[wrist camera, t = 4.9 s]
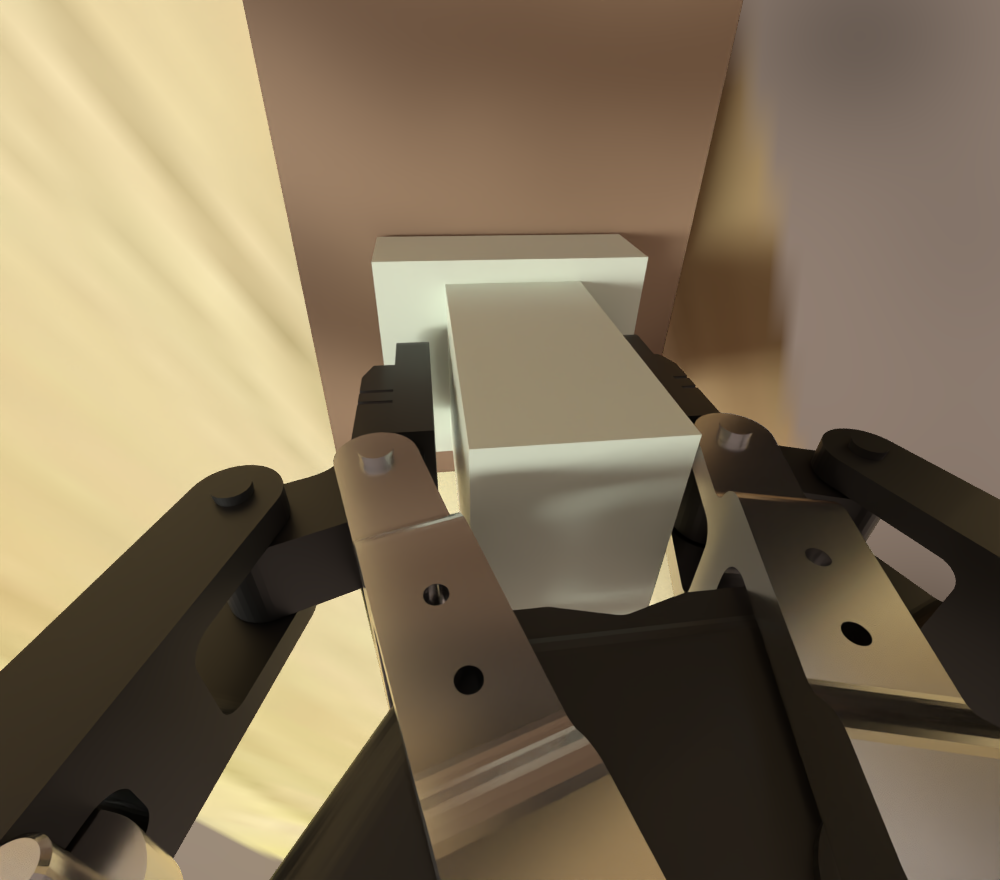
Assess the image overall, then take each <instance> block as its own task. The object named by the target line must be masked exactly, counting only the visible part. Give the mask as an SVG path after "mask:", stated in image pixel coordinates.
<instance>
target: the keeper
mask: <svg viewBox="0 0 1000 880" xmlns="http://www.w3.org/2000/svg"><path fill="white" fill-rule="evenodd" d="M647 261H648V256H646V255H645V254H644V253H642V252H641V251H640V250H639V249H637V248H636V247H635V246H634V245H632V244H631V243H630V242H628V241H627V240H626V239H625V238H623V237H622V236H621V235H620V234H584V235H498V236H413V237H377V239H376V244H375V248H374V253H373V257H372V262H371V263H372V271H373V279H374V287H375V295H376V303H377V312H378V320H379V328H380V336H381V344H382V352H383V360H384V365H395V356H396V343H409V342H429V347H430V363H431V378H432V394H433V410H434V426H435V444H436V452H440V451H453V456H454V466H455V476H456V486H457V496H458V505H459V513H461V514H462V515H463V516H464V517H465V519H466V520H467V522H468V524H469V526H470V528H471V530H472V532H473V534H474V536H475V538H476V540H477V542H478V544H479V546H480V547H481V549H482V551H483V553H484V555H485V557H486V559H487V561H488V563H489V565H490V567H491V569H492V571H493V573H494V575H495V577H496V579H497V581H498V583H499V585H500V586H501V588H502V590H503V592H504V594H505V596H506V598H507V600H508V602H509V604H510V606H511V608H512V610H520V609H530V608H539V607H556V608H564V609H572V610H581V611H589V612H597V613H606V614H614V615H626V614H630V613H632V612H635V611H638V610H640V609H643V608H646V607H648V606H649V604H650V600H651V597H652V594H653V591H654V587H655V584H656V581H657V578H658V575H659V571H660V568H661V565H662V562H663V558H664V555H665V552H666V549H667V545H668V542H669V539H670V536H671V533H672V529H673V526H674V523H675V520H676V516H677V513H678V510H679V507H680V504H681V500H682V497H683V494H684V491H685V487H686V484H687V481H688V478H689V475H690V471H691V468H692V465H693V462H694V458H695V455H696V452H697V449H698V446H699V442H700V439H701V436H702V434H701V433H700V432H699V430H698V429H697V428H696V427H695V425H694V424H693V423H692V422H691V420H690V419H689V418H688V417H687V415H686V414H685V413H684V412H683V410H682V409H681V408H680V407H679V405H678V404H677V403H676V401H675V400H674V399H673V398H672V396H671V395H670V394H669V393H668V391H667V390H666V389H665V388H664V386H663V385H662V384H661V383H660V381H659V380H658V379H657V378H656V376H655V375H654V374H653V373H652V371H651V370H650V369H649V367H648V366H647V365H646V364H645V362H644V361H643V360H642V359H641V357H640V356H639V355H638V354H637V352H636V351H635V350H634V349H633V347H632V346H631V345H630V344H629V342H628V341H627V340H626V339H625V337H624V336H623V335H634V330H635V325H636V320H637V315H638V309H639V304H640V299H641V293H642V288H643V283H644V277H645V272H646V267H647Z"/></svg>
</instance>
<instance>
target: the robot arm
mask: <svg viewBox="0 0 1000 880" xmlns="http://www.w3.org/2000/svg"><path fill="white" fill-rule="evenodd" d="M623 336H624V337H625V339H626V340H627V341H628V342H629V344H630V345H631V346H632V347H633V349H634V350H635V351H636V352H637V354H638V355H639V356H640V357H641V359H642V360H643V361H644V362H645V364H646V365H647V366H648V367H649V369H650V370H651V371H652V373H653V374H654V375H655V376H656V378H657V379H658V380H659V381H660V383H661V384H662V385H663V386H664V388H665V389H666V390H667V391H668V393H669V394H670V395H671V396H672V398H673V399H674V400H675V401H676V403H677V404H678V405H679V407H680V408H681V409H682V410H683V412H684V413H685V414H686V415H687V417H688V418H689V419H690V420H691V422H692V423H693V424H694V425H695V427H696V428H697V429H698V430H699V432H700V433H701V434H702V436H701V439H700V442H699V446H698V449H697V452H696V455H695V458H694V462H693V465H692V468H691V471H690V475H689V478H688V481H687V484H686V487H685V491H684V494H683V497H682V500H681V504H680V507H679V510H678V513H677V516H676V520H675V523H674V526H673V529H672V533H671V536H670V539H669V542H668V545H667V549H666V555H667V560H668V566H669V571H670V577H671V583H672V588H673V594H674V597H672V598H669V599H666V600H664V601H661V602H659V603H656V604H653V605H651V606H648V607H646V608H643V609H640V610H638V611H635V612H632V613H630V614H626V615H614V614H606V613H597V612H589V611H581V610H572V609H564V608H556V607H539V608H530V609H520V610H512V608H511V606H510V604H509V602H508V600H507V598H506V596H505V594H504V592H503V590H502V588H501V586H500V585H499V583H498V581H497V579H496V577H495V575H494V573H493V571H492V569H491V567H490V565H489V563H488V561H487V559H486V557H485V555H484V553H483V551H482V549H481V547H480V546H479V544H478V542H477V540H476V538H475V536H474V534H473V532H472V530H471V528H470V526H469V524H468V522H467V520H466V519H465V517H464V516H463V515H462V514H461V513H454V514H451V515H450V514H449V512H448V510H447V508H446V506H445V504H444V502H443V500H442V498H441V496H440V494H439V492H438V479H437V461H436V444H435V426H434V410H433V394H432V378H431V363H430V347H429V342H409V343H396V356H395V365H379V366H373V367H372V368H371V369H370V370H369V371H368V372H367V373H366V374H365V375H364V376H363V377H362V380H361V386H360V394H359V397H358V405H357V409H356V415H355V421H354V426H353V432H352V438H351V440H350V441H348V442H347V443H345V444H344V445H343V446H342V447H340V448H339V450H338V451H337V452H336V454H335V456H334V460H333V463H334V466H333V467H332V468H330V469H328V470H327V471H325V472H322V473H320V474H318V475H315V476H311V477H308V478H305V479H301V480H297V481H294V482H290V483H286V484H283V480H282V478H281V476H280V475H279V474H278V473H277V472H276V471H274V470H273V469H270V468H268V467H264V466H257V465H244V466H237V467H232V468H228V469H225V470H222V471H219V472H217V473H214V474H212V475H210V476H208V477H206V478H205V479H203V480H202V481H200V482H199V483H197V484H196V485H195V486H194V487H193V488H192V489H191V490H189V491H188V492H187V493H186V494H185V495H184V496H183V497H182V498H181V499H180V500H179V501H178V502H177V503H176V504H175V505H174V506H173V507H172V508H171V509H170V510H169V511H168V512H166V513H165V514H164V515H163V516H162V517H161V518H160V519H159V520H158V521H157V522H156V523H155V524H154V525H153V526H152V527H151V528H150V529H149V530H148V531H147V532H146V533H145V534H144V535H142V536H141V537H140V538H139V539H138V540H137V541H136V542H135V543H134V544H133V545H132V546H131V547H130V548H129V549H128V550H127V551H126V552H125V553H124V554H123V555H122V556H121V557H119V558H118V559H117V560H116V561H115V562H114V563H113V564H112V565H111V566H110V567H109V568H108V569H107V570H106V571H105V572H104V573H103V574H102V575H101V576H100V577H99V578H98V579H96V580H95V581H94V582H93V583H92V584H91V585H90V586H89V587H88V588H87V589H86V590H85V591H84V592H83V593H82V594H81V595H80V596H79V597H78V598H77V599H76V600H75V601H74V602H72V603H71V604H70V605H69V606H68V607H67V608H66V609H65V610H64V611H63V612H62V613H61V614H60V615H59V616H58V617H57V618H56V619H55V620H54V621H53V622H52V623H51V624H49V625H48V626H47V627H46V628H45V629H44V630H43V631H42V632H41V633H40V634H39V635H38V636H37V637H36V638H35V639H34V640H33V641H32V642H31V643H30V644H29V645H28V646H27V647H25V648H24V649H23V650H22V651H21V652H20V653H19V654H18V655H17V656H16V657H15V658H14V659H13V660H12V661H11V662H10V663H9V664H8V665H7V666H6V667H5V668H4V669H2V670H1V671H0V880H183V876H182V873H181V871H180V868H179V866H178V865H177V864H176V862H175V861H174V859H173V858H174V855H175V854H176V852H177V851H178V849H179V847H180V845H181V844H182V842H183V840H184V838H185V837H186V835H187V833H188V831H189V830H190V828H191V826H192V824H193V823H194V821H195V819H196V817H197V816H198V814H199V812H200V810H201V809H202V807H203V805H204V804H205V802H206V800H207V798H208V797H209V795H210V793H211V791H212V790H213V788H214V786H215V784H216V783H217V781H218V779H219V777H220V776H221V774H222V772H223V770H224V769H225V767H226V765H227V763H228V762H229V760H230V758H231V756H232V755H233V753H234V751H235V749H236V748H237V746H238V744H239V742H240V741H241V739H242V737H243V735H244V734H245V732H246V730H247V728H248V727H249V725H250V723H251V721H252V720H253V718H254V716H255V714H256V713H257V711H258V709H259V708H260V706H261V704H262V702H263V701H264V699H265V697H266V695H267V694H268V692H269V690H270V688H271V687H272V685H273V683H274V681H275V680H276V678H277V676H278V674H279V673H280V671H281V669H282V667H283V666H284V664H285V662H286V660H287V659H288V657H289V655H290V653H291V652H292V650H293V648H294V646H295V645H296V643H297V641H298V639H299V638H300V636H301V634H302V632H303V631H304V629H305V627H306V625H307V624H308V622H309V620H310V619H311V617H312V615H313V613H314V611H315V608H316V605H318V604H320V603H323V602H326V601H328V600H331V599H334V598H336V597H339V596H342V595H344V594H347V593H350V592H352V591H355V590H358V589H360V588H361V593H362V597H363V601H364V605H365V609H366V613H367V617H368V621H369V626H370V630H371V634H372V638H373V642H374V646H375V650H376V655H377V659H378V663H379V667H380V672H381V676H382V680H383V685H384V689H385V694H386V698H387V702H388V707H389V712H388V713H387V714H386V716H385V717H384V719H383V720H382V722H381V723H380V724H379V726H378V727H377V729H376V730H375V731H374V733H373V734H372V736H371V737H370V739H369V740H368V741H367V743H366V744H365V746H364V747H363V748H362V750H361V751H360V753H359V754H358V755H357V757H356V758H355V760H354V761H353V763H352V764H351V765H350V767H349V768H348V770H347V771H346V772H345V774H344V775H343V777H342V778H341V780H340V781H339V782H338V784H337V785H336V787H335V788H334V789H333V791H332V792H331V794H330V795H329V797H328V798H327V799H326V801H325V802H324V804H323V805H322V806H321V808H320V809H319V811H318V812H317V813H316V815H315V816H314V818H313V819H312V821H311V822H310V823H309V825H308V826H307V828H306V829H305V830H304V832H303V833H302V835H301V836H300V838H299V839H298V840H297V842H296V843H295V845H294V846H293V847H292V849H291V850H290V852H289V853H288V855H287V856H286V857H285V859H284V860H283V862H282V863H281V864H280V866H279V867H278V869H277V870H276V872H275V873H274V874H273V876H272V877H271V879H270V880H1000V499H998V498H996V497H994V496H992V495H990V494H988V493H986V492H985V491H983V490H981V489H979V488H977V487H975V486H973V485H971V484H970V483H967V482H966V481H964V480H962V479H960V478H958V477H956V476H955V475H953V474H951V473H949V472H947V471H945V470H943V469H941V468H940V467H938V466H936V465H934V464H932V463H930V462H928V461H926V460H924V459H923V458H921V457H919V456H917V455H915V454H913V453H911V452H909V451H908V450H905V449H904V448H902V447H900V446H898V445H896V444H894V443H893V442H891V441H889V440H887V439H884V438H882V437H880V436H877V435H875V434H872V433H868V432H865V431H860V430H855V429H833V430H830V431H828V432H826V433H825V434H824V435H823V437H822V439H821V441H820V443H819V445H818V447H817V449H816V451H815V450H807V449H800V448H792V447H785V446H778V444H777V442H776V440H775V439H774V437H773V435H772V434H771V433H770V432H769V431H768V430H767V429H766V428H765V427H764V426H762V425H761V424H759V423H757V422H755V421H753V420H751V419H748V418H746V417H742V416H739V415H735V414H729V413H720V412H719V411H718V410H717V409H716V408H715V406H714V405H713V404H712V403H711V402H710V401H709V400H708V399H707V398H706V396H705V395H704V394H703V393H702V392H701V391H700V390H699V389H698V388H695V384H694V383H693V382H692V381H691V380H690V379H689V378H687V375H686V374H685V373H684V372H683V371H682V370H681V369H680V368H679V366H678V365H677V364H676V363H674V362H672V361H670V360H668V359H667V358H665V357H663V356H661V355H659V354H653V352H652V351H651V350H650V349H649V348H648V347H647V345H646V344H645V343H644V342H643V341H642V339H641V338H640V337H639V336H638V335H636V334H634V335H623ZM880 519H882V520H884V521H885V522H887V523H888V524H890V525H891V526H893V527H894V528H896V529H898V530H899V531H901V532H902V533H904V534H905V535H907V536H908V537H910V538H911V539H913V540H914V541H916V542H918V543H919V544H921V545H922V546H924V547H925V548H927V549H928V550H930V551H931V552H933V553H934V554H936V555H937V556H939V557H940V558H942V559H943V560H944V561H945V562H946V563H947V564H948V565H949V566H950V567H951V569H952V570H953V572H954V575H955V578H956V585H955V588H954V590H953V591H952V592H951V593H950V594H949V596H948V597H947V598H946V599H945V601H944V602H941V601H939V600H937V599H936V598H934V597H932V596H931V595H929V594H928V593H927V592H925V591H924V590H923V589H921V588H920V587H918V586H917V585H916V584H914V583H913V582H911V581H910V580H909V579H907V578H906V577H904V576H903V575H901V574H900V573H899V572H897V571H896V570H894V569H893V568H892V567H890V566H889V565H887V564H886V563H884V562H883V561H882V560H880V559H879V558H878V557H876V556H875V555H874V554H873V552H872V551H871V549H870V548H869V546H868V544H867V543H866V540H867V539H868V537H869V536H870V534H871V533H872V531H873V530H874V528H875V526H876V525H877V523H878V522H879V520H880Z"/></svg>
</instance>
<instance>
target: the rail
mask: <svg viewBox="0 0 1000 880" xmlns="http://www.w3.org/2000/svg"><path fill="white" fill-rule="evenodd" d="M742 3H743V0H243V5H244V10H245V14H246V19H247V24H248V29H249V34H250V39H251V43H252V48H253V53H254V58H255V63H256V67H257V72H258V77H259V82H260V87H261V92H262V96H263V101H264V106H265V111H266V116H267V120H268V125H269V130H270V135H271V140H272V145H273V149H274V154H275V159H276V164H277V169H278V174H279V178H280V183H281V188H282V193H283V198H284V202H285V207H286V212H287V217H288V222H289V227H290V231H291V236H292V241H293V246H294V251H295V255H296V260H297V265H298V270H299V275H300V280H301V284H302V289H303V294H304V299H305V304H306V309H307V313H308V318H309V323H310V328H311V333H312V337H313V342H314V347H315V352H316V357H317V362H318V366H319V371H320V376H321V381H322V386H323V390H324V395H325V400H326V405H327V410H328V415H329V419H330V424H331V429H332V434H333V439H334V443H335V448H336V452H337V451H338V450H339V448H340V447H342V446H343V445H344V444H345V443H347V442H348V441H350V440H351V438H352V432H353V426H354V421H355V415H356V409H357V405H358V397H359V394H360V386H361V380H362V377H363V376H364V375H365V374H366V373H367V372H368V371H369V370H370V369H371V368H372V367H373V366H379V365H384V360H383V352H382V344H381V336H380V328H379V320H378V312H377V303H376V295H375V287H374V279H373V271H372V263H371V262H372V257H373V253H374V248H375V244H376V239H377V237H413V236H498V235H584V234H620V235H621V236H622V237H623V238H625V239H626V240H627V241H628V242H630V243H631V244H632V245H634V246H635V247H636V248H637V249H639V250H640V251H641V252H642V253H644V254H645V255H646V256H648V261H647V267H646V272H645V277H644V283H643V288H642V293H641V299H640V304H639V309H638V315H637V320H636V325H635V330H634V334H636V335H638V336H639V337H640V338H641V339H642V341H643V342H644V343H645V344H646V345H647V347H648V348H649V349H650V350H651V351H652V352H653V354H659V355H661V356H662V353H663V349H664V344H665V340H666V335H667V331H668V327H669V322H670V318H671V314H672V309H673V305H674V300H675V296H676V292H677V287H678V283H679V279H680V274H681V270H682V265H683V261H684V257H685V252H686V248H687V244H688V239H689V235H690V231H691V226H692V222H693V217H694V213H695V209H696V204H697V200H698V196H699V191H700V187H701V182H702V178H703V174H704V169H705V165H706V161H707V156H708V152H709V147H710V143H711V139H712V134H713V130H714V126H715V121H716V117H717V113H718V108H719V104H720V99H721V95H722V91H723V86H724V82H725V78H726V73H727V69H728V64H729V60H730V56H731V51H732V47H733V43H734V38H735V34H736V29H737V25H738V21H739V16H740V12H741V8H742ZM436 461H437V472H449V471H455V466H454V456H453V451H440V452H436Z"/></svg>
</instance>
